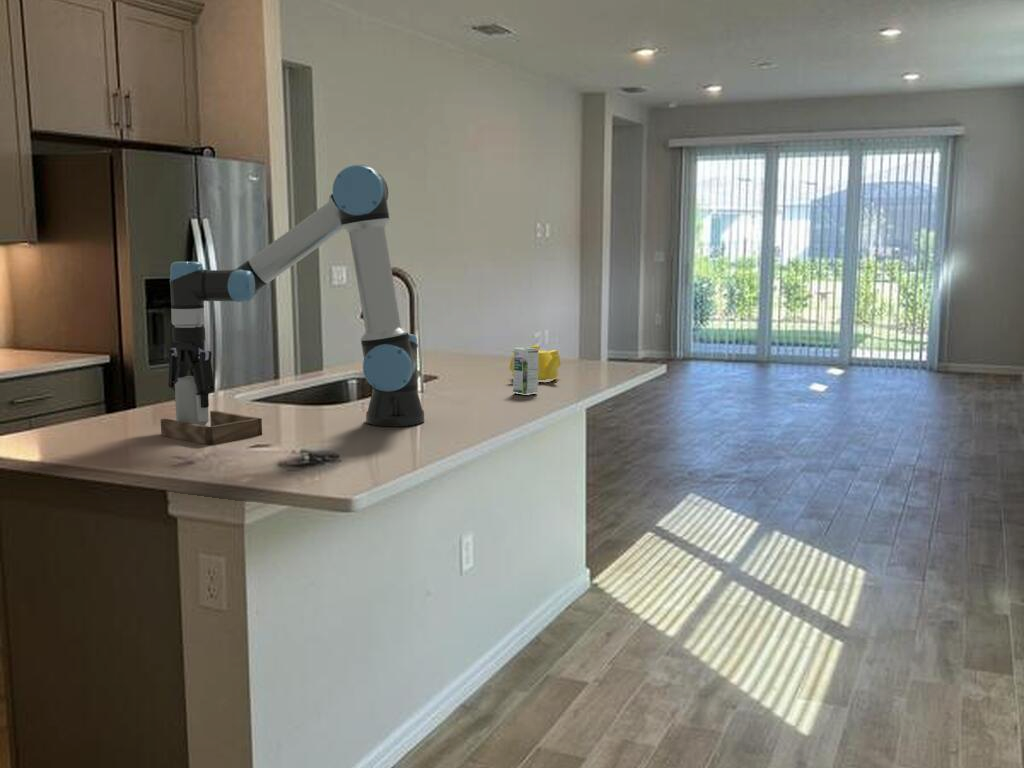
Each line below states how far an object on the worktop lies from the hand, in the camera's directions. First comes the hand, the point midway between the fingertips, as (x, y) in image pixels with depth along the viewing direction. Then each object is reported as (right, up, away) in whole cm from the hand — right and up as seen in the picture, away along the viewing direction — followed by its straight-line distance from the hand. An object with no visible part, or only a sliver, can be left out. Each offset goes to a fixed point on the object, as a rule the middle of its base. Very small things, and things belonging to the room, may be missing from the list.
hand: (192, 418), depth 237 cm
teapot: (+86, +9, +93) cm, 127 cm away
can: (0, -2, 0) cm, 2 cm away
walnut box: (+6, -4, -4) cm, 8 cm away
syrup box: (+83, +5, +62) cm, 104 cm away
